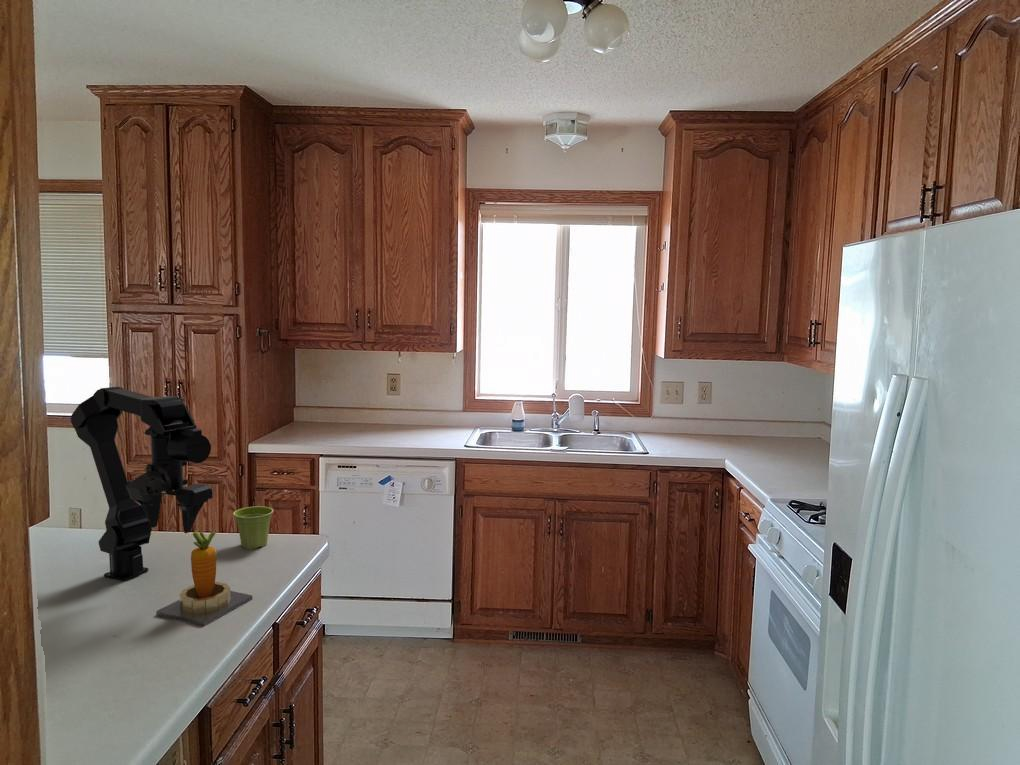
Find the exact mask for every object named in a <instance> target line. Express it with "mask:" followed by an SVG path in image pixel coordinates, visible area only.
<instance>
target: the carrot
mask: <svg viewBox="0 0 1020 765" xmlns="http://www.w3.org/2000/svg"><path fill="white" fill-rule="evenodd" d="M215 535H216V532H215V531H211V532H210V534H209V535H208V537H206V535H205V534H204V532H203V531H200V532H198V530H196V531H194V532H193V533H192V536H193V537H194V539H195V541H193V545H195V546H196V547H195V548H194V549H192V550H191V553H190V564H191V566H190V568H191V575H192V576H191V577H192V579H193V580H192V581H193V585H195V588H196V591H197V593H198V595H199V597H200V598H208V597H210V596H211V594H212V591H213V588H214V584H215V582H216V576H217V550H216V548H215V547H213V546H210V544H211V541H212V540H213V538H214V537H215Z"/></svg>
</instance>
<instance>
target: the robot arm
mask: <svg viewBox="0 0 1020 765" xmlns="http://www.w3.org/2000/svg"><path fill="white" fill-rule="evenodd" d="M124 412H125V413H129V414H132V415H136V416H138V417H139V418H140V422H142V423H143V424H146V425H147V426H149V427H148V428H147V429H145V430H144V435H146V436H150V448H151V449H150V450H151V451H150V452H151V462H150V463H147V464H146V467H145V468H146V469H145V470H146V471H145V473H143V474H141V475H139V476H138V477H136V478H135V479H132V480H128V478H127V475H126V471H125V468H124V465H123V462H122V459H121V457H120V456H121V455H120V453H119V450H118V446H117V444H116V436H117V432H118V430H119V423H118V422H119V421H118V420H119V418H120V417H121V415H122V414H123V413H124ZM70 423H71V425H72V427H73V428H74V431H75V432H76V436H77V437H78V438H79V439H80V440H81V441H82V442H84V444H86V445H87V446H88V447H89V448H90V451H91V454H92V458H93V460H94V463H95V466H96V471H97V474H98V476H99V481H100V483H101V486H102V489H103V492H104V496H105V498H106V502H107V505H108V511H107V514H106V517H105V522H104V524H105V532H104V533H103V534H102V536H101V537H100V539H99V540H98V542H97V543H98V546H99V550H100V551H101V552H103V553H106V554H108V555H109V556H108V557H109V571H108V572H106V573H103V576H104V577H105V578H110V579H116V580H120V581H127V580H130V579H132V578H134V577H136V576H138V575H139V576H140V575H141V574H144V573H146V572H149V567H144V558H143V556H144V555H143V552H142V551H143V550H142V545H143V546H144V545H145V544H146V545H147V544H149V543H150V538H151V535H152V529H154V528H156V527H157V526H158V523H159V518H160V513H161V511H160V510H161V505H162V504H161V503H162V497H163V495H169V496H174V497H176V501H177V502H178V503H177V504H175V505H176V507H178V509H180V510H181V518H182V527H183V532H184V534H189V533H190V532H191V530H192V527H193V525H194V524H195V521H196V519H197V516H198V515H199V513H200V511H201V509H202V508H203V505H204V504H205V503H207V502H208V501H209V500H210V499H213V496H214V495H213V488H212V487H211V486H210V485H209V484H202V483H194V484H191V485H188V484H189V479H188V478H184V466H188V463H193V464H201V463H204V462H205V461H206V460H207V459H208V458H209V457H210V454H211V452H212V444H211V443H210V442H211V441H210V439H208V438H207V436H205V435H203V432H202V429H201V428H197V425H196V423H195V419H194V417H193V416H192V415H191V413H190V411H189V409H188V407H187V406H186V404H185V402H184V400H183V399H182V397H180V396H176V395H175V396H173V395H172V396H171V395H168V396H151V395H147V394H143V393H139V392H135V391H133V390H132V391H131V390H128V389H125V388H124V387H121V386H111V387H100V388H99V389H97V390H96V391H95V392H94V393H93V395H91V396H90V397H89V398H87V399H85V400H83V401H82V402H81V403H79V404H78V405H77V407H76V409H75V410H74V411H73V412H72V414H71V415H70ZM185 485H187V486H185Z"/></svg>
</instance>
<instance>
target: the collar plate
mask: <svg viewBox="0 0 1020 765" xmlns="http://www.w3.org/2000/svg"><path fill="white" fill-rule="evenodd" d="M252 600H253V595H252V594H248V593H244V592H238V591H233V590H231V587H230V586H229V584H227V583H225V582H222V581H220V582H219V581H215V584H214V588H213V591H212V594H211V596H210V597H208V598H200V597H199V595H198V593H197V591H196V588H195V585H194V584H193V585H190V586H188V587H186V588H184V589H183V590H181V592H180V593H179V599H177V600H176V601H173V602H171V603H170V604H168V605H166V606H164V607H162V608H160V609H158V610H156V612H155V613H156V616H160V617H164V618H167V619H168V618H169V619H173V620H176V621H180V622H181V621H182V622H184V623H185V622H186V623H188V624H193V625H198V626H203V627H205V626H207V625H208V624H210V623H212V622H214V621H216V620H217V619H219V618H221V617H223V616H225V615H226V614H228V613H230V612H232V611H234V610H235V609H237V608H239V607H241V606H243V605H245V604H246V603H247V602H250V601H252Z"/></svg>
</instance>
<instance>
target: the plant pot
mask: <svg viewBox="0 0 1020 765" xmlns="http://www.w3.org/2000/svg"><path fill="white" fill-rule="evenodd" d="M272 514H274V508H272V507H268V506H248V507H247V506H246V507H243V508H239V509H236V510H235V511H233V517H234V518H235V521H236V523H237V528H238V533H239V538H240V540H239V541H240V544H241V547H243V548H245V549H258V548H259V547H265V546H267V544H268V538H269V532H270V525H271V524H270V522H271V518H272Z"/></svg>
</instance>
